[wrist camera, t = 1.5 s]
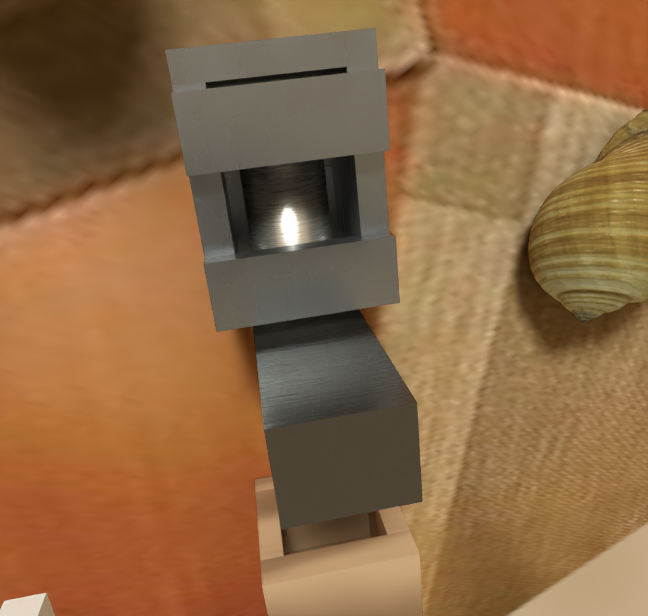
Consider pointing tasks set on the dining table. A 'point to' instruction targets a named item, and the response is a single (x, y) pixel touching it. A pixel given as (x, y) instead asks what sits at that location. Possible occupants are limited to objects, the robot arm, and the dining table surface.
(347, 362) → the sliding bolt
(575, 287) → the seashell
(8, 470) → the dining table surface
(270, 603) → the socket
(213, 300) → the sleeve
